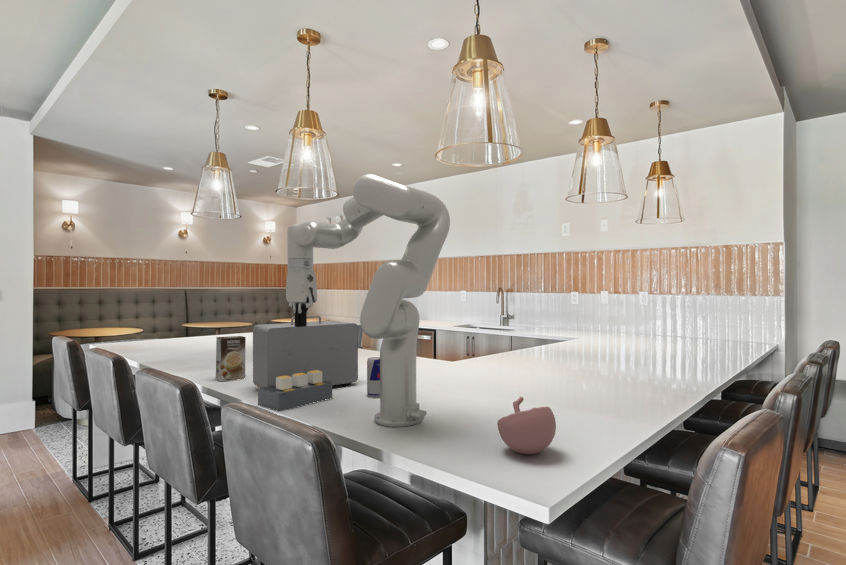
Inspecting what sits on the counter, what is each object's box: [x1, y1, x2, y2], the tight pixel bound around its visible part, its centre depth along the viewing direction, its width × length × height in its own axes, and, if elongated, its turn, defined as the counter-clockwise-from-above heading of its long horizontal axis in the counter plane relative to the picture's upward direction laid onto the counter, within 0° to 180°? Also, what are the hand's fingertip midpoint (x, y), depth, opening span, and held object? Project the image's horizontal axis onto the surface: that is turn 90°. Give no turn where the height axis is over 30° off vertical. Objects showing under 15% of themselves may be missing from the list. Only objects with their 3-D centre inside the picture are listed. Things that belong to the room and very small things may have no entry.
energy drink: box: [366, 356, 380, 399], centre depth 149 cm, size 5×5×12 cm
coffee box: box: [215, 335, 246, 383], centre depth 177 cm, size 9×6×16 cm
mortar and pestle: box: [496, 396, 557, 455], centre depth 98 cm, size 12×12×12 cm
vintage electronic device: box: [252, 314, 359, 388], centre depth 163 cm, size 32×18×25 cm, turn 126°
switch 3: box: [307, 370, 322, 384], centre depth 145 cm, size 3×3×3 cm
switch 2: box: [292, 373, 308, 387], centre depth 141 cm, size 3×3×3 cm
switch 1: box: [276, 375, 292, 390], centre depth 137 cm, size 3×3×3 cm
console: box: [257, 381, 333, 412], centre depth 142 cm, size 11×19×5 cm, turn 140°
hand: (300, 326), depth 141 cm, fingers closed
